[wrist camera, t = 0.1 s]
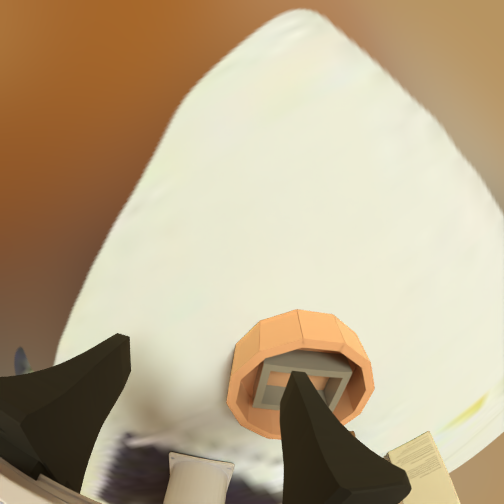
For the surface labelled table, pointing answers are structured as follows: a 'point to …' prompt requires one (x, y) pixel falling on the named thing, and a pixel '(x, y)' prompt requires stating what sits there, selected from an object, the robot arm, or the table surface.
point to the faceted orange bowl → (297, 368)
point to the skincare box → (424, 472)
